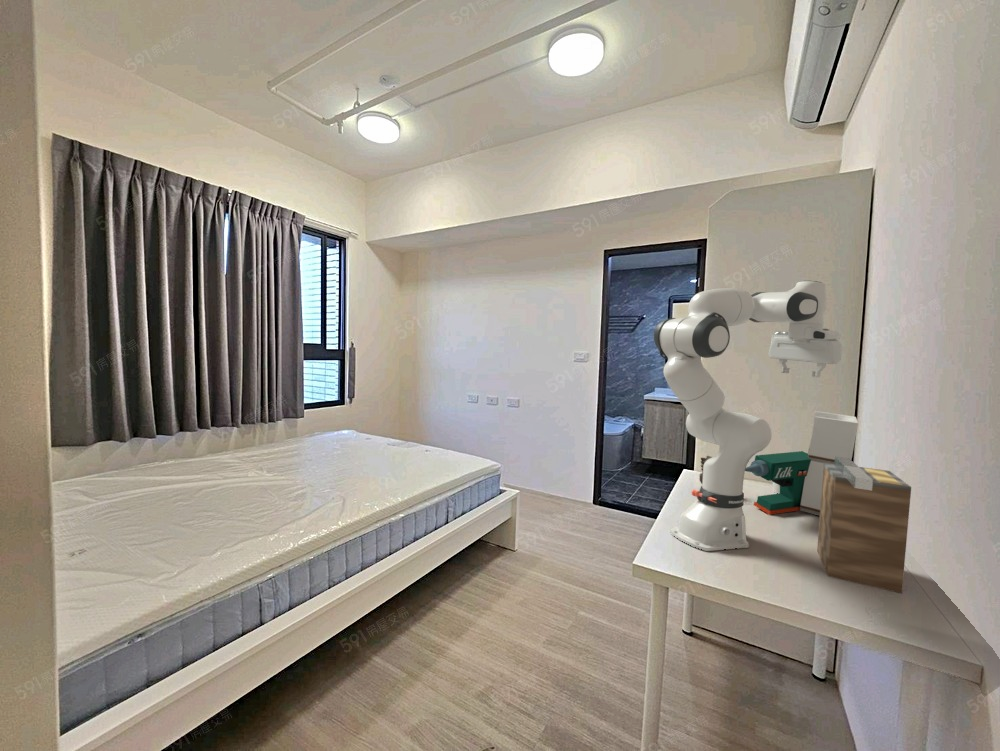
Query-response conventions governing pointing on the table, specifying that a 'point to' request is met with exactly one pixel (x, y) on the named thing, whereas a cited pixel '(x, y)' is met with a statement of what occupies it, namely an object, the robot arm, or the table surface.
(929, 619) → the table surface
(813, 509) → the white cradle pedestal
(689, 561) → the table surface
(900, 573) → the stand
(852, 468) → the brushed metal bar
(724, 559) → the table surface
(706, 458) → the brown carved figurine
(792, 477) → the power tool
